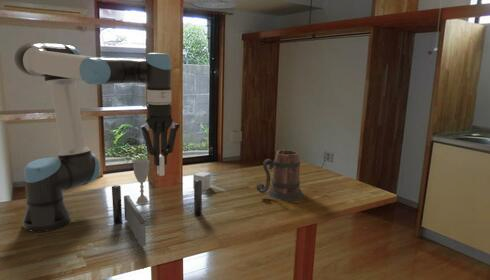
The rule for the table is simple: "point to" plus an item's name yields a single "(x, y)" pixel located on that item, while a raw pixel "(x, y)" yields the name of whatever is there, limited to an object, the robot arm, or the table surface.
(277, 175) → the tankard
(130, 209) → the gate leaf
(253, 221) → the table surface
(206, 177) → the product box
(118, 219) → the gate frame
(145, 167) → the chalice
